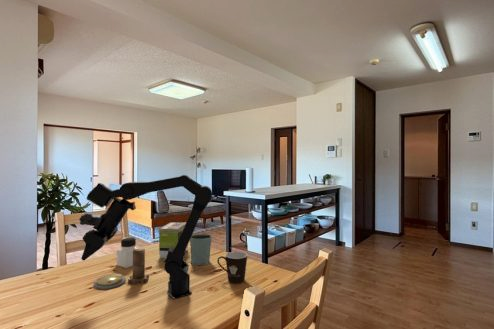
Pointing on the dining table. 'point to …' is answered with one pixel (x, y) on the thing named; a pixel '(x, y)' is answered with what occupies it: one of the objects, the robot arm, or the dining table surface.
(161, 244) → the tea box
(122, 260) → the medicine bottle
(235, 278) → the coffee mug
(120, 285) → the plate
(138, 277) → the gear spindle
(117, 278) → the hub
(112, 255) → the dining table surface
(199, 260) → the drinking glass
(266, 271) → the dining table surface
